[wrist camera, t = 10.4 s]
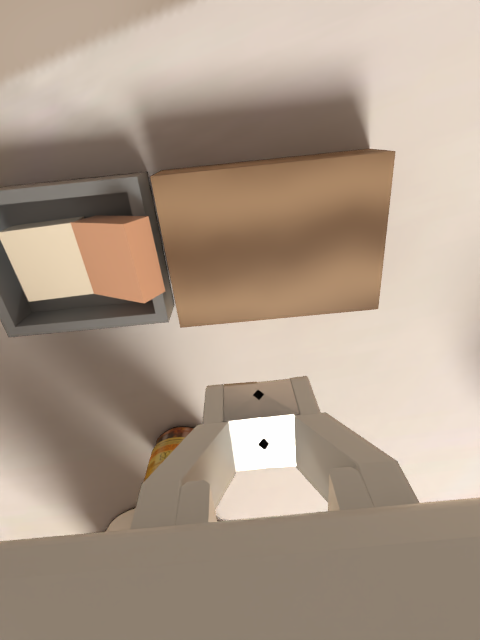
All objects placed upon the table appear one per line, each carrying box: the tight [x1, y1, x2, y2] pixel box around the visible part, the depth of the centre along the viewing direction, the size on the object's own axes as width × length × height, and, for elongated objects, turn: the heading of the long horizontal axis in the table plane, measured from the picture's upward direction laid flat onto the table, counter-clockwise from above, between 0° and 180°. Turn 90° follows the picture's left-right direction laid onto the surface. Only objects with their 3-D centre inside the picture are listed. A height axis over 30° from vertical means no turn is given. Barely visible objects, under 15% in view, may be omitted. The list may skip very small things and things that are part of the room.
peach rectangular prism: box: [70, 215, 165, 303], centre depth 23 cm, size 5×5×2 cm
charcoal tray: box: [0, 172, 174, 337], centre depth 24 cm, size 10×12×3 cm
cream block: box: [0, 216, 94, 302], centre depth 24 cm, size 5×5×2 cm
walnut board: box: [150, 149, 395, 328], centre depth 24 cm, size 10×14×4 cm
